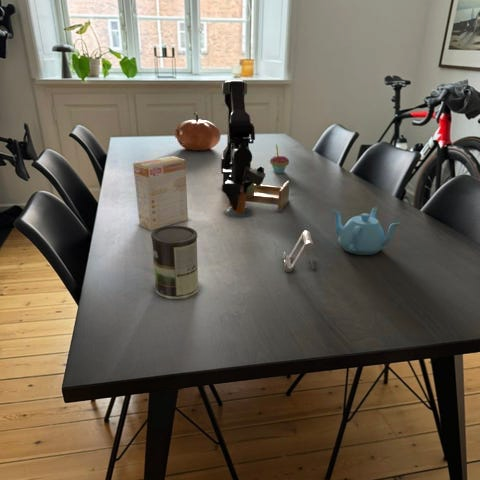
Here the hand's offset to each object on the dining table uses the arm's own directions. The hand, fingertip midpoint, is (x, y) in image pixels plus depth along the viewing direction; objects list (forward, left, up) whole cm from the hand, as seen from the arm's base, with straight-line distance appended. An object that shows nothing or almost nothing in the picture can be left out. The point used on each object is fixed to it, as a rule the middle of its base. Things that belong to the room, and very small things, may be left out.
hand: (238, 206), depth 158 cm
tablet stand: (+28, -36, -3) cm, 45 cm away
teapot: (+43, -17, -3) cm, 46 cm away
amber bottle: (0, 0, -2) cm, 2 cm away
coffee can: (+3, -59, -3) cm, 59 cm away
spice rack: (+4, +13, -2) cm, 14 cm away
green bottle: (-1, +13, +1) cm, 13 cm away
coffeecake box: (-20, -18, -3) cm, 27 cm away
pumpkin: (-53, +94, -3) cm, 108 cm away
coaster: (0, 0, -2) cm, 2 cm away
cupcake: (0, +61, -3) cm, 62 cm away
